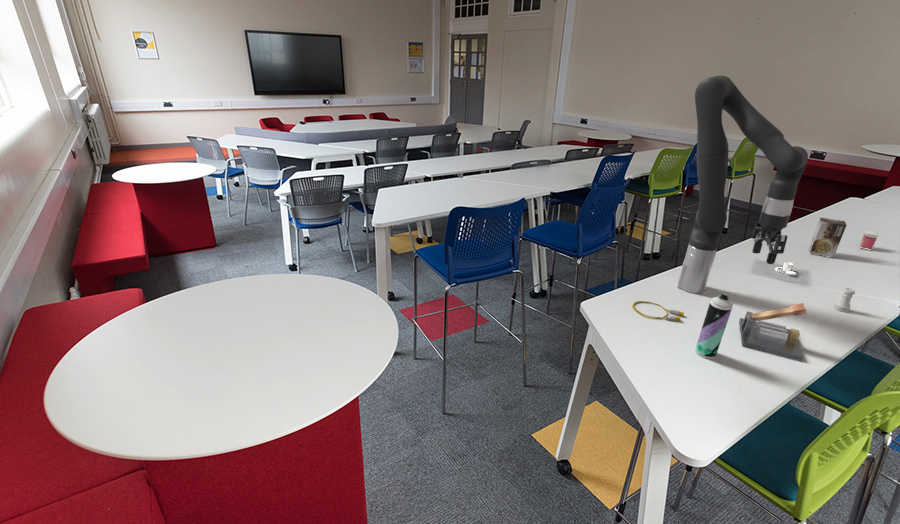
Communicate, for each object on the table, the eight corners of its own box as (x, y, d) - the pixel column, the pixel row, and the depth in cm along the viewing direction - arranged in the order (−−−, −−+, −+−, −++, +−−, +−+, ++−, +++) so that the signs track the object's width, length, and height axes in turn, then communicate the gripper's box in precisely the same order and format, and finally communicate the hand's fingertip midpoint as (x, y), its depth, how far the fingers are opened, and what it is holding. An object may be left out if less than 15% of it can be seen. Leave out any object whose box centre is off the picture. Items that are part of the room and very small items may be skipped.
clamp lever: (748, 324, 138) (746, 318, 137) (747, 318, 141) (745, 313, 141) (807, 314, 129) (805, 309, 129) (804, 308, 132) (803, 303, 132)
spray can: (691, 348, 133) (709, 289, 125) (708, 347, 134) (727, 289, 125) (701, 359, 128) (721, 299, 120) (719, 358, 129) (740, 298, 120)
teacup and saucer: (796, 279, 180) (800, 270, 179) (773, 273, 185) (776, 264, 183) (797, 271, 187) (801, 263, 185) (775, 266, 191) (778, 257, 189)
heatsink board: (742, 346, 135) (748, 327, 132) (738, 321, 148) (745, 304, 145) (801, 361, 129) (810, 342, 126) (793, 334, 142) (800, 316, 139)
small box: (858, 245, 216) (865, 230, 213) (870, 247, 214) (877, 232, 210) (859, 248, 212) (866, 233, 209) (871, 250, 210) (878, 235, 207)
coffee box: (831, 254, 205) (845, 220, 198) (833, 258, 200) (847, 224, 193) (807, 249, 209) (820, 216, 203) (808, 253, 204) (821, 220, 198)
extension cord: (668, 329, 143) (669, 324, 142) (625, 309, 154) (626, 304, 154) (687, 318, 150) (689, 313, 149) (645, 299, 161) (646, 294, 160)
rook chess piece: (845, 307, 159) (855, 287, 156) (851, 313, 155) (861, 293, 152) (831, 305, 160) (839, 285, 157) (836, 311, 156) (845, 291, 153)
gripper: (752, 204, 148) (740, 249, 155) (776, 218, 135) (762, 266, 142) (775, 204, 147) (762, 250, 154) (802, 218, 134) (787, 267, 141)
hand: (762, 258), depth 148 cm, fingers open, 8 cm apart
